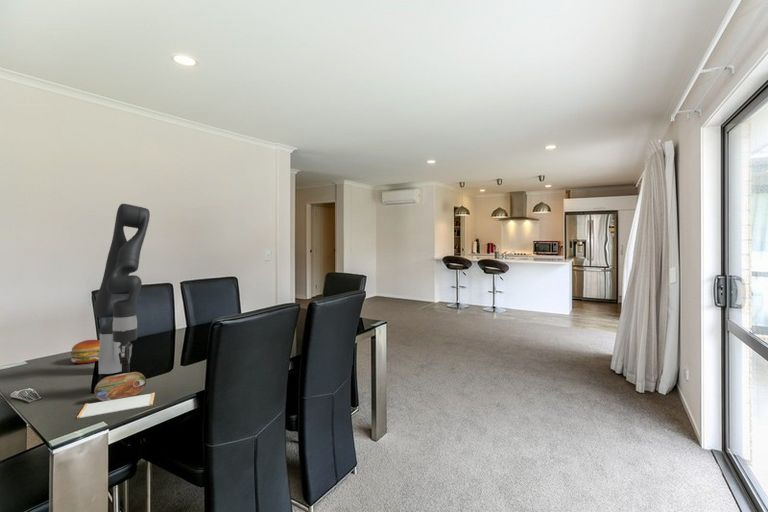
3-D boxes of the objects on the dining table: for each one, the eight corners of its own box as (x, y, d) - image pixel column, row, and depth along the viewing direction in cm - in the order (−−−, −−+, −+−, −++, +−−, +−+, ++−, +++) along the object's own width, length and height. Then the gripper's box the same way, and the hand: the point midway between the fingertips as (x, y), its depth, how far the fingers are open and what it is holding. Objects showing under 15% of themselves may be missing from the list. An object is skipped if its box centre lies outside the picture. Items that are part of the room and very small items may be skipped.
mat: (76, 418, 111) (76, 417, 111) (85, 405, 121) (85, 403, 121) (152, 405, 121) (152, 403, 121) (154, 393, 131) (154, 392, 131)
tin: (94, 404, 122) (94, 379, 122) (94, 400, 125) (94, 377, 124) (146, 393, 131) (146, 371, 131) (146, 390, 134) (145, 368, 134)
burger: (82, 366, 161) (82, 345, 161) (63, 363, 165) (62, 342, 165) (113, 358, 174) (113, 338, 174) (94, 355, 178) (94, 335, 178)
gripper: (115, 325, 137) (116, 369, 138) (109, 332, 126) (109, 380, 126) (139, 323, 141) (139, 366, 141) (134, 330, 130) (135, 376, 130)
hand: (125, 373), depth 134 cm, fingers closed
